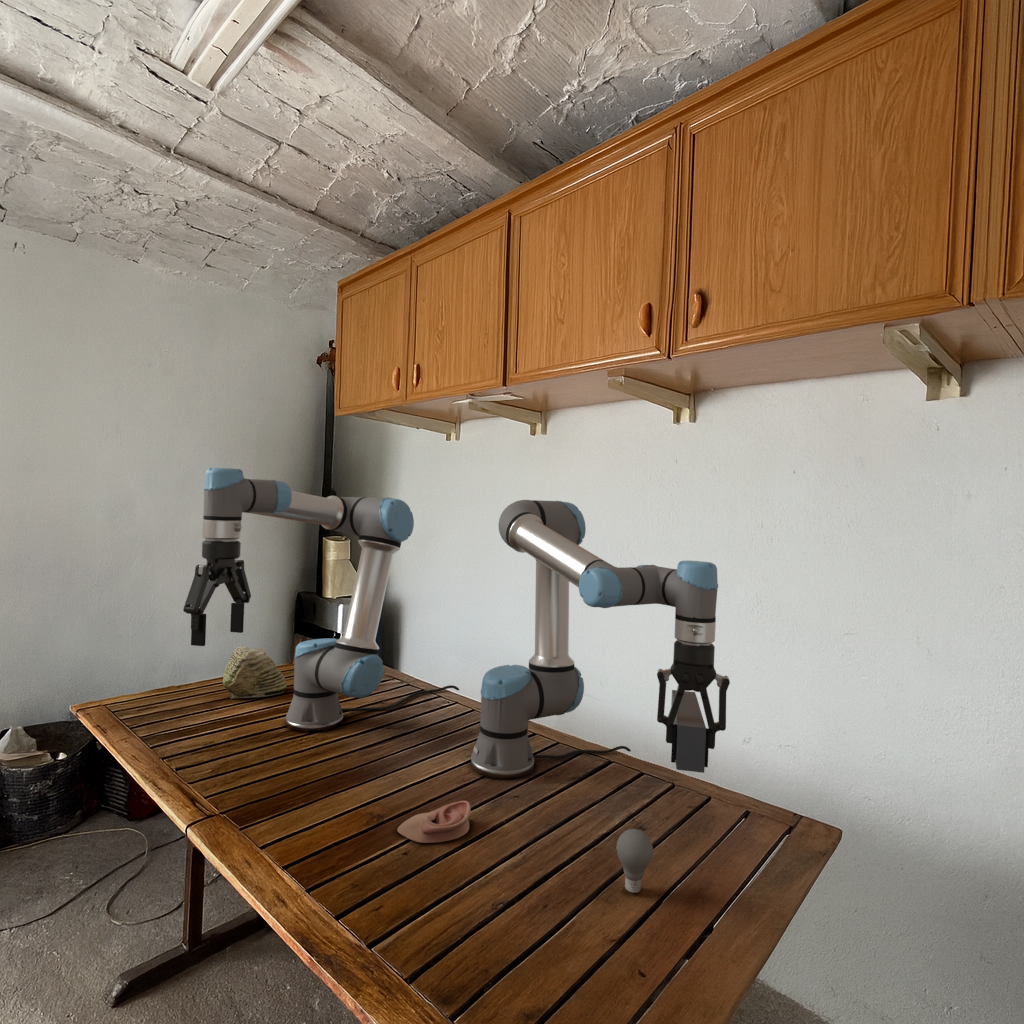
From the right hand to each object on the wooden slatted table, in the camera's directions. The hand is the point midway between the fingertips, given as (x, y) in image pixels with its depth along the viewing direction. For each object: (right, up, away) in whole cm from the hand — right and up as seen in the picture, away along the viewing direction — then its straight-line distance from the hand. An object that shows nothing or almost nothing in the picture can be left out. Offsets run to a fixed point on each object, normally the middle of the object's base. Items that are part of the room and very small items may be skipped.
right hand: (689, 761), depth 122 cm
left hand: (-97, +21, +14) cm, 101 cm away
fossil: (-115, -9, +76) cm, 138 cm away
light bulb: (-14, -15, -16) cm, 26 cm away
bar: (+2, -1, +9) cm, 9 cm away
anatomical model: (-49, -13, +1) cm, 51 cm away
